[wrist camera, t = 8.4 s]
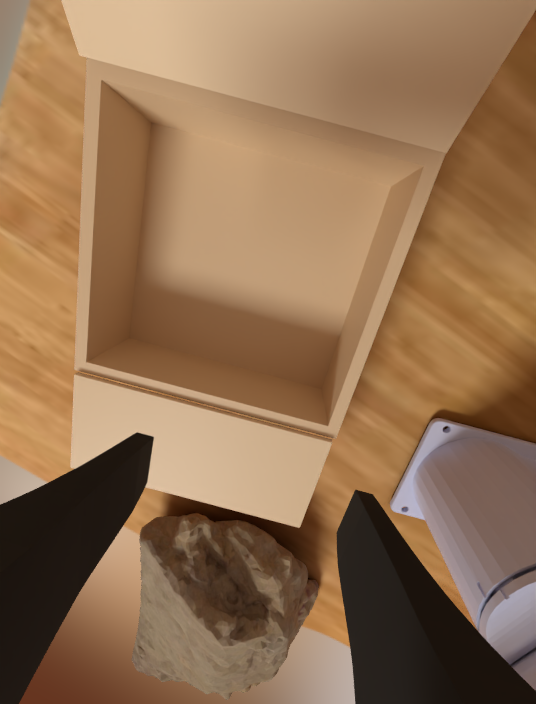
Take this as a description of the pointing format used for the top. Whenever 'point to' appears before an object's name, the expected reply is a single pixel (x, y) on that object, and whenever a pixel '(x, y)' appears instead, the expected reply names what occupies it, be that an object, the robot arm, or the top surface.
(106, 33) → the cardboard box flap
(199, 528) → the artifact
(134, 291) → the carton
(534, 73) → the top surface
